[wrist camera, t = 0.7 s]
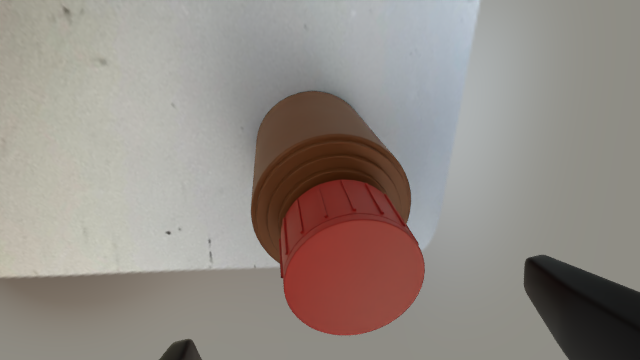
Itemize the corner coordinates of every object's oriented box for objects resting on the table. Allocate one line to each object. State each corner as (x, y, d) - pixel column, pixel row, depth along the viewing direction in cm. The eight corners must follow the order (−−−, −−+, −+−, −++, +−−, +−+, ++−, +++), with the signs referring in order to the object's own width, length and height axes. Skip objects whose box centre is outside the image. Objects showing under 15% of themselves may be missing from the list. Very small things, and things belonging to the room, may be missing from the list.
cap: (390, 165, 12) (419, 202, 10) (403, 265, 14) (431, 317, 11) (266, 194, 12) (265, 239, 10) (295, 292, 14) (300, 350, 11)
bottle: (356, 79, 20) (448, 152, 10) (372, 181, 22) (458, 324, 12) (242, 105, 20) (216, 207, 10) (271, 205, 22) (275, 369, 12)
